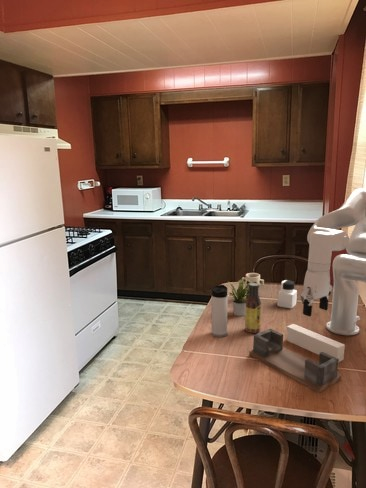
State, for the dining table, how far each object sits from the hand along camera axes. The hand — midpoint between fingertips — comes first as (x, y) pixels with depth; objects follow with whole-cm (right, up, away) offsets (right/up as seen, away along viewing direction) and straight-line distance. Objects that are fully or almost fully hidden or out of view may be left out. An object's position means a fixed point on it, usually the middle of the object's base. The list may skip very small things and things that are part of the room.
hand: (315, 312), depth 143 cm
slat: (+1, -15, +4) cm, 15 cm away
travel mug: (-33, -12, +17) cm, 39 cm away
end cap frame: (-10, -17, -8) cm, 22 cm away
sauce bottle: (-19, -11, +20) cm, 30 cm away
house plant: (-21, -8, +35) cm, 42 cm away
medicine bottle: (+2, -5, +46) cm, 46 cm away
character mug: (-14, -3, +53) cm, 55 cm away
